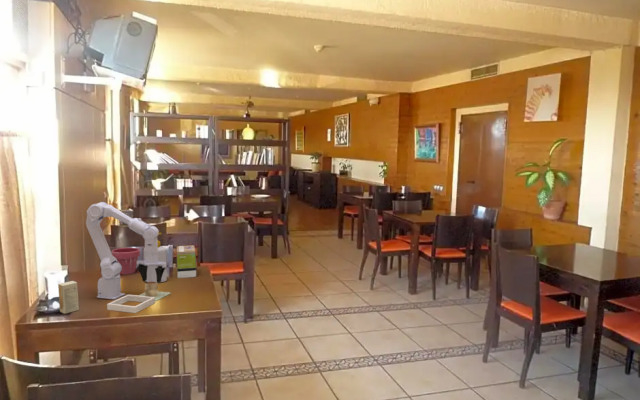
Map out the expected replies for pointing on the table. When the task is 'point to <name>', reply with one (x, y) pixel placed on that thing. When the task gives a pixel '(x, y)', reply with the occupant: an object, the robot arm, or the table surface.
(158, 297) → the sage tile
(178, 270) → the tea box
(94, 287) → the table surface
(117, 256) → the plant pot
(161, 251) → the soap bottle
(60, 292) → the skincare box
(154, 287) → the birch block
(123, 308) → the white bin
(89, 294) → the table surface
